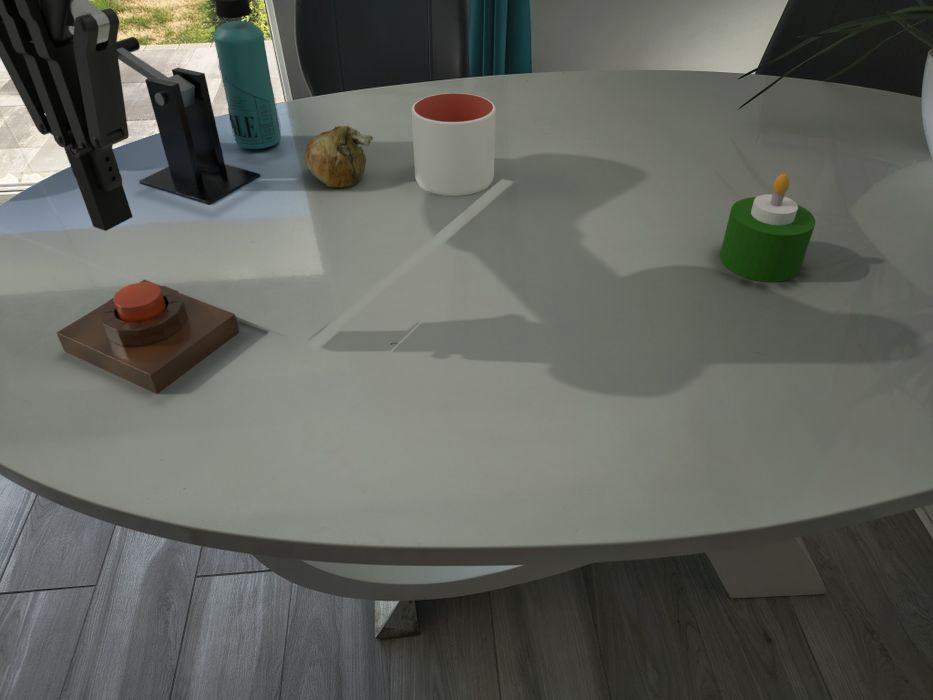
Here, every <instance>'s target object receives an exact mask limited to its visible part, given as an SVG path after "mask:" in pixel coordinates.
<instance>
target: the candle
mask: <svg viewBox="0 0 933 700" xmlns="http://www.w3.org/2000/svg"><path fill="white" fill-rule="evenodd" d="M789 188H790V179H789V177H788V175H787V174H786V173H781V174H780V175H778V176H777V178H776V179H775V180H774V182H773V185H772V194H770V193H769V194H761V195H758V196H751V197H745V198H742V199H740V200H737V201H736V202H735V203H733V204H732V205H731V208H730V212H729V216H728V220H727V223H726V228H725V231H724V236H723V240H722V244H721V247H720V252H719V259H720V261H721V264H723V266H724V267H725V268H726V269H728V270H729V271H731V272H732V273H734V274H736V275H737V276H740V277H743V278H745V279H748V280H752V281H757V282H763V283H764V282H766V283H779V282H785V281H789V280H791V279H793V278H795V277H796V276H798V274H799V273H800V271H801V269H802V265H803V262H804V259H805V256H806V254H807V251H808V247H809V244H810V241H811V238H812V236H813V232H814V230H815V226H816V218H815V216H814V215H813V213H811V211H810V210H808V209H807V208H805V207H803V206H802V205H800V204H797V203H796V202H795V201H794V200H793V199H791V198H789V197H786V196H785V195H786V193H787V192H788V190H789Z"/></svg>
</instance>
